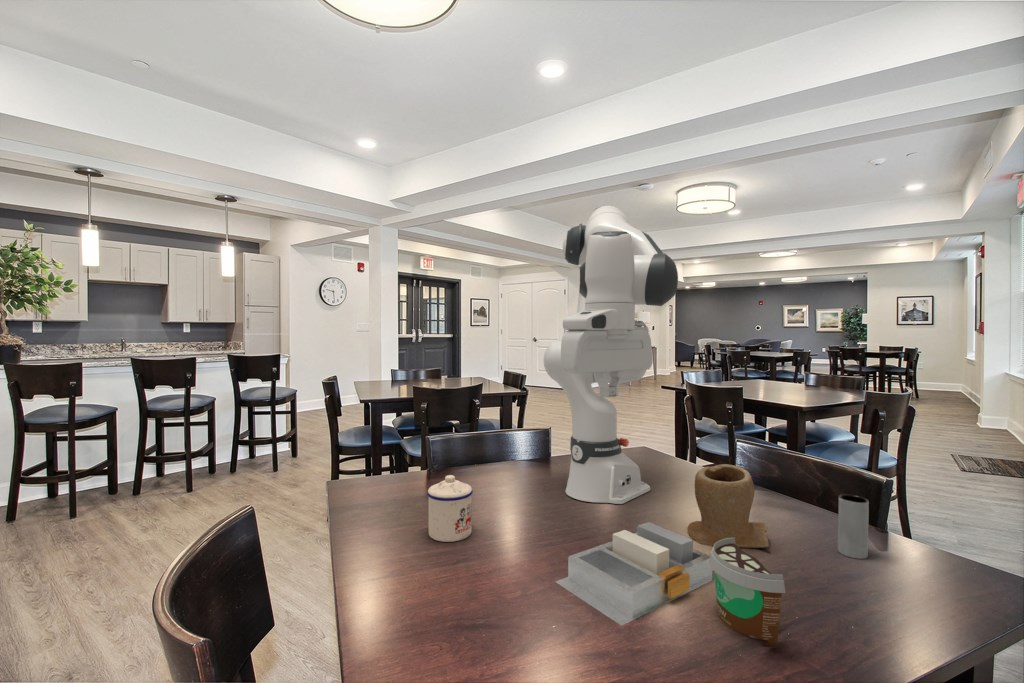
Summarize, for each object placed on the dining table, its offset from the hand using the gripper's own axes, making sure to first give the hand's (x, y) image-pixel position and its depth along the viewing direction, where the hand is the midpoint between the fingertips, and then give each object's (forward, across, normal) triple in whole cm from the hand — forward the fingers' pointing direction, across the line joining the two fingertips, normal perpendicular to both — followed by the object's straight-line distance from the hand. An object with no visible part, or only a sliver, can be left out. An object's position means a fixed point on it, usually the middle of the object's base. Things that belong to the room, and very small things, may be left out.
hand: (609, 396), depth 88 cm
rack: (+29, +3, +10) cm, 31 cm away
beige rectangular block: (+28, +3, +10) cm, 30 cm away
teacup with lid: (+29, +18, -26) cm, 43 cm away
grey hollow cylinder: (+29, -38, +25) cm, 54 cm away
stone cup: (+29, -23, +10) cm, 39 cm away
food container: (+29, +1, +25) cm, 39 cm away
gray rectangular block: (+28, -3, +10) cm, 30 cm away
